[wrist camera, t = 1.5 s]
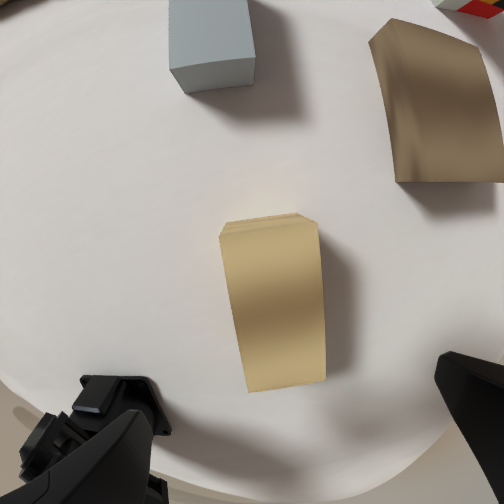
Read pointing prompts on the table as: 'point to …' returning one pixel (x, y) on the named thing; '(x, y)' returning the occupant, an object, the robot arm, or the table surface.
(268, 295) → the oak block
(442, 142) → the walnut block
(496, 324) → the table surface
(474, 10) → the puzzle toy
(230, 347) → the table surface
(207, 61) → the grey block
